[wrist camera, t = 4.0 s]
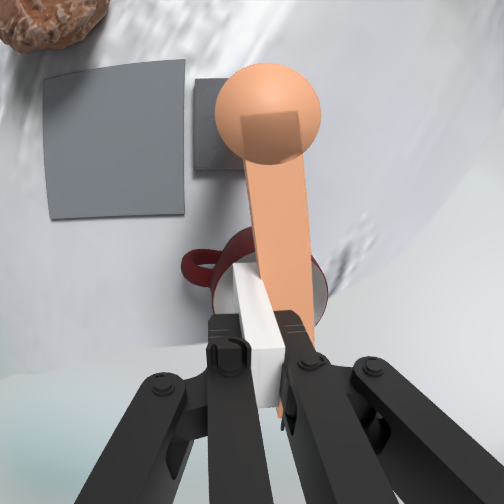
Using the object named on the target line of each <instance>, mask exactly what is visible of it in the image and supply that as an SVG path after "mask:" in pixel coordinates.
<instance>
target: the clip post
mask: <svg viewBox="0 0 504 504" xmlns="http://www.w3.org/2000/svg"><path fill="white" fill-rule="evenodd" d="M228 79H229V78H209V79H195V101H194V170H244V163H243V158H241V157H239V156H238V155H236V154H235V153H234V152H233V151H231V150H230V149H229V147H228V146H227V145H226V144H225V143H224V141H223V140H222V138H221V136H220V134H219V132H218V129H217V126H216V121H215V105H216V100H217V97H218V94H219V92H220V90H221V88H222V87H223V85H224V84H225V83H226V81H227V80H228Z"/></svg>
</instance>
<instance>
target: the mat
mask: <svg viewBox="0 0 504 504" xmlns="http://www.w3.org/2000/svg"><path fill="white" fill-rule="evenodd" d="M184 81H185V59H179V60H163V61H151V62H141V63H132V64H124V65H117V66H110V67H104V68H98V69H92V70H86V71H81V72H76V73H71V74H67V75H62V76H58V77H53V78H49V79H45V80H44V92H43V146H44V165H45V179H46V189H47V199H48V207H49V215H50V219H62V218H80V217H100V216H124V215H155V214H184V213H185V203H184Z"/></svg>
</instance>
